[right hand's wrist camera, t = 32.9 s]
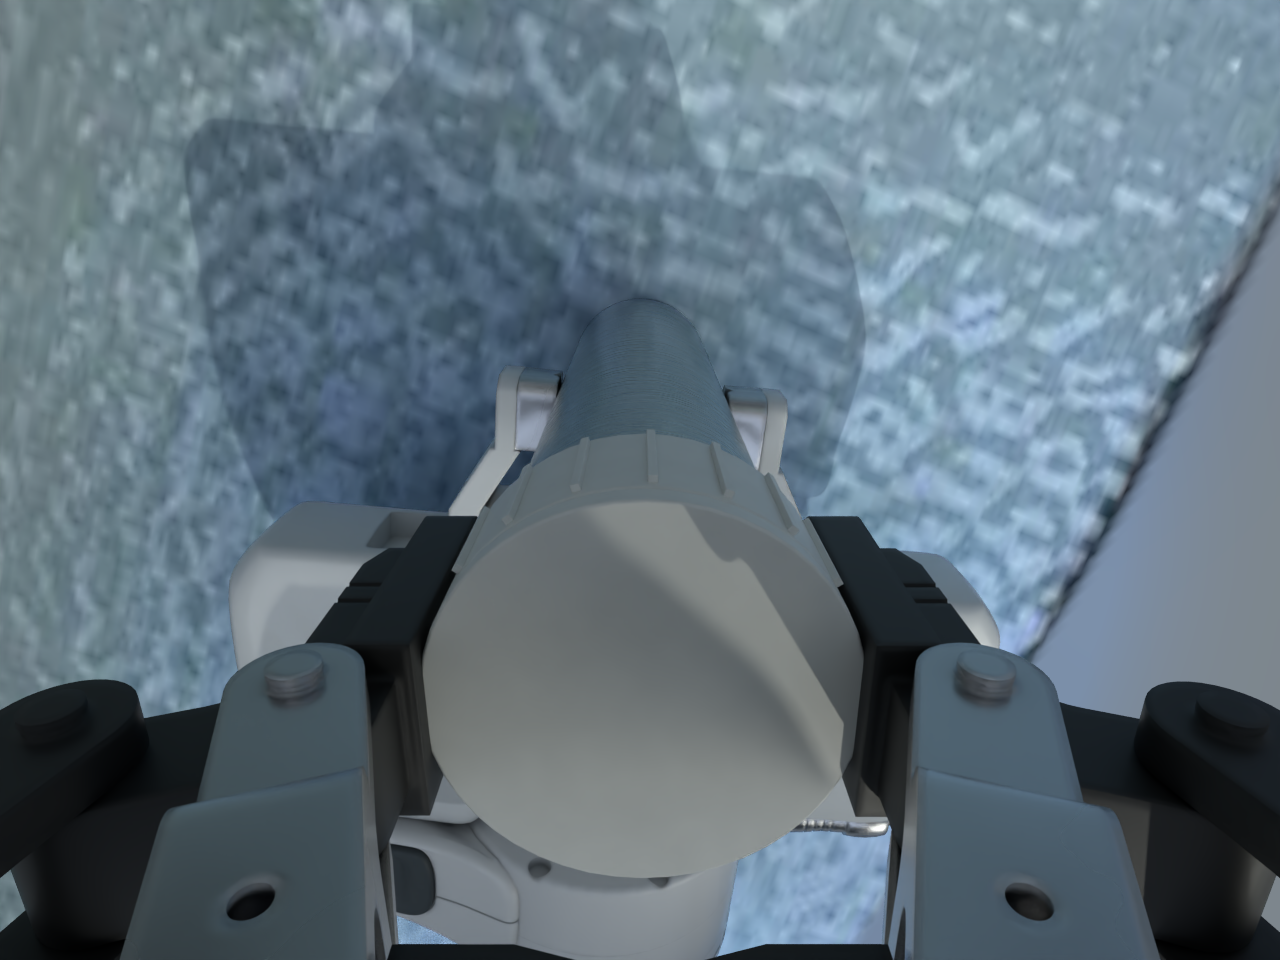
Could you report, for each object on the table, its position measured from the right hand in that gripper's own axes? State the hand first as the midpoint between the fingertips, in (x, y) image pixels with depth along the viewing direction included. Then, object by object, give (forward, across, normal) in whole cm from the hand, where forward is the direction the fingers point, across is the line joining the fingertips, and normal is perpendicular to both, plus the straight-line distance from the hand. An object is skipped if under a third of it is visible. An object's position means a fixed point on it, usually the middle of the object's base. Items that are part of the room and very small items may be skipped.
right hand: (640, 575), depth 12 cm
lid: (-3, 0, 0) cm, 3 cm away
